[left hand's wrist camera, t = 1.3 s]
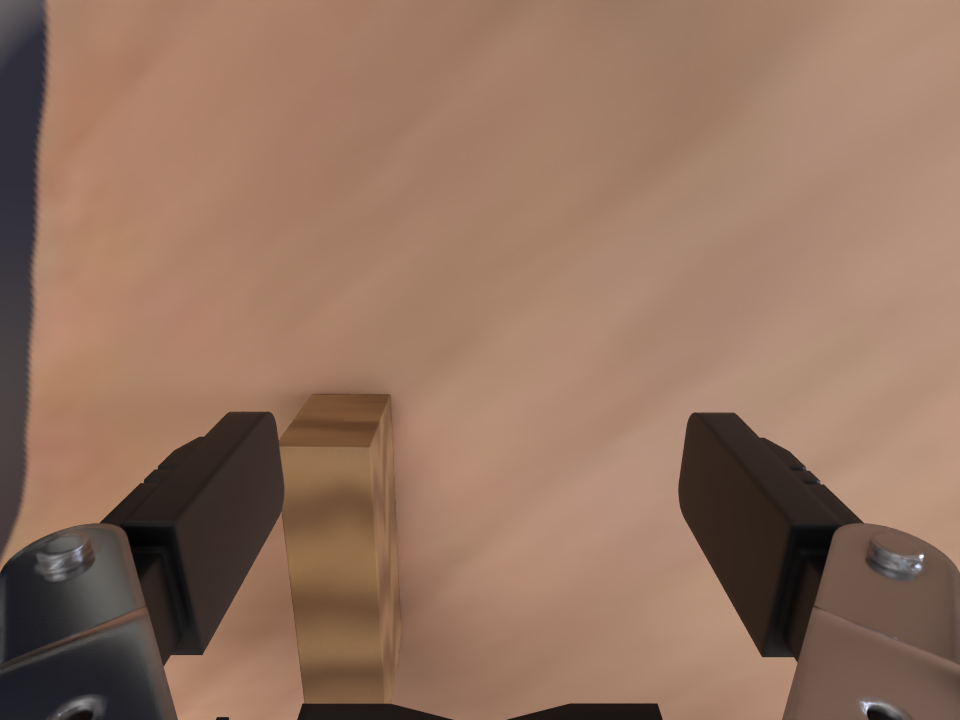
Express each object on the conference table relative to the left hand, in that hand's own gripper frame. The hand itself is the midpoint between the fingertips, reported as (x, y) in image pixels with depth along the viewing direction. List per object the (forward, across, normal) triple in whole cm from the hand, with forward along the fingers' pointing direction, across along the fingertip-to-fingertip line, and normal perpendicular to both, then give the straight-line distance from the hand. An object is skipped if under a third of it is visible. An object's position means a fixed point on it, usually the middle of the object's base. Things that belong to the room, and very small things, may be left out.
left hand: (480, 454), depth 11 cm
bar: (+29, +10, +23) cm, 38 cm away
